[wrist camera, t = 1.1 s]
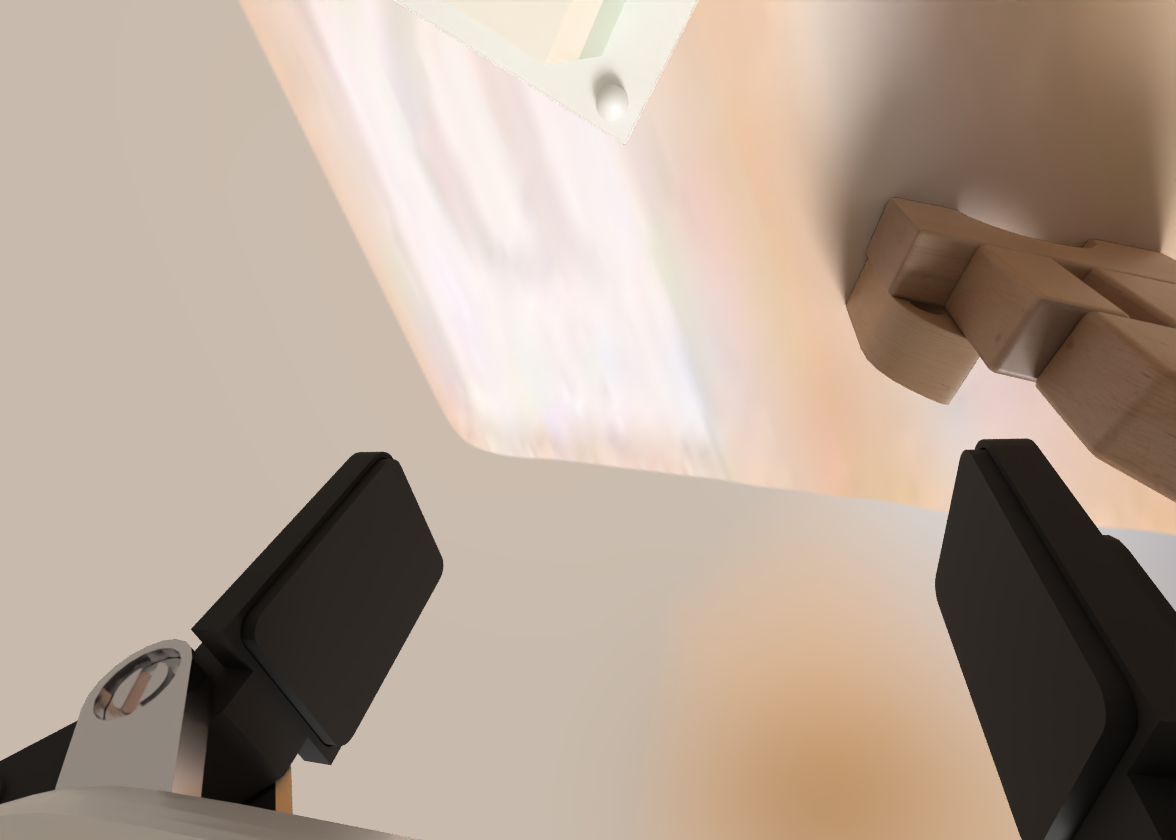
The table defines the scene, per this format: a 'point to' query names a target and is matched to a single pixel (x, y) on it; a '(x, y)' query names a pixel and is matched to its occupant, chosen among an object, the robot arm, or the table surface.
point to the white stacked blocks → (572, 48)
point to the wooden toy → (1028, 326)
